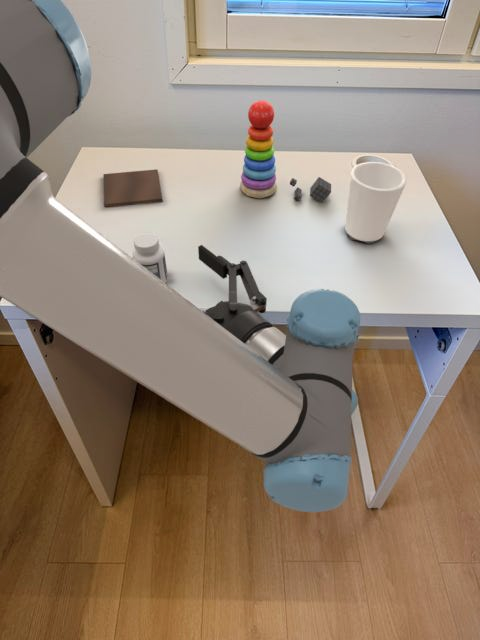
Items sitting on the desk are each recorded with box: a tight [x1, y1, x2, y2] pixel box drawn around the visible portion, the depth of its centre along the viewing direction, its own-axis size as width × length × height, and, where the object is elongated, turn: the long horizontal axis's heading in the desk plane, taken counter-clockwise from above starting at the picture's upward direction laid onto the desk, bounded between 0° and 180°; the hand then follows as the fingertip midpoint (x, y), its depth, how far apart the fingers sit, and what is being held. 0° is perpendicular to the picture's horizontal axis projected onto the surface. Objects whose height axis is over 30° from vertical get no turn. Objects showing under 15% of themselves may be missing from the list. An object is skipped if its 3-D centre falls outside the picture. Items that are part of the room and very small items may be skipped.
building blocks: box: [289, 176, 332, 204], centre depth 99 cm, size 3×6×8 cm
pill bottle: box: [132, 232, 169, 284], centre depth 79 cm, size 5×5×9 cm
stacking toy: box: [239, 100, 278, 199], centre depth 95 cm, size 8×8×19 cm
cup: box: [344, 161, 408, 245], centre depth 88 cm, size 10×10×13 cm
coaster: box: [102, 168, 164, 208], centre depth 101 cm, size 12×12×1 cm
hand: (166, 269), depth 75 cm, fingers open, 13 cm apart
